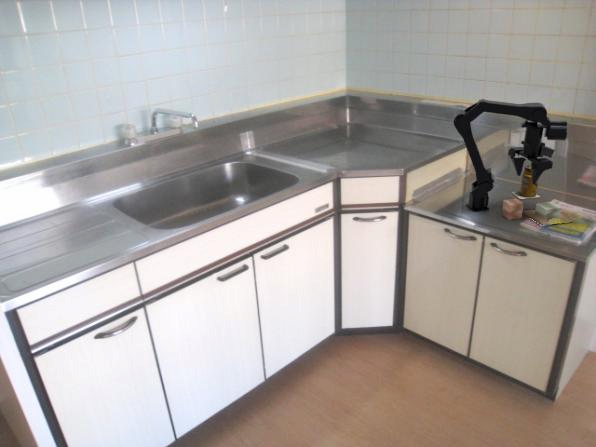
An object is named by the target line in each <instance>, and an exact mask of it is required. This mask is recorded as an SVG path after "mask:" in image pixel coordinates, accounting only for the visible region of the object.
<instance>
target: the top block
mask: <svg viewBox="0 0 596 447" xmlns="http://www.w3.org/2000/svg"><path fill="white" fill-rule="evenodd" d="M502 203H503V204H502V210H501V215H502V216H503V217H504V218H506V219H507V220H509V221H510V220H518V219H522V216H523V211H524V203H523V202H522V201H520V200H519V199H518V198H511V199H503V201H502Z"/></svg>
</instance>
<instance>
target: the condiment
mask: <svg viewBox="0 0 596 447" xmlns="http://www.w3.org/2000/svg"><path fill="white" fill-rule="evenodd" d="M530 167H532V166H531V164H529V165H526V166H525V167H524V169H523V171H524V172H523V173H522V178H521V183H520V185H521V186H520V191H511V194H513V195H514V196H516V197H517V199H518V198H519V199H520V200H525V199H537V198H541V195H539V194H537V192H538V184H539V180H538V181H537V182H536V184H532V180H531V170H530Z"/></svg>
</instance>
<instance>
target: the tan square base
mask: <svg viewBox="0 0 596 447" xmlns="http://www.w3.org/2000/svg"><path fill="white" fill-rule="evenodd" d="M535 204H536V205H535V209H529V210H523V211H522V215H524V216H525V217H526V218H528V219H529V218H531V219H533V220H534V221H536V222H538V223H539V224H541V225H543V224H547V223H548V222H549V220H550V219H552V218H567V219H569V220H573V219H572V218H570V217H568V216H567V215H565V214H563V213H562V207H561V206H559V205H557V203H555V202H553V201H546V202H545V201H544V202H537V203H535ZM531 219H530V220H531ZM534 221H533V222H534Z"/></svg>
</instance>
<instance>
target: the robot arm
mask: <svg viewBox="0 0 596 447" xmlns="http://www.w3.org/2000/svg"><path fill="white" fill-rule="evenodd" d="M484 113H490V114H498V115H503V116H504V115H506V116H512V117H513V116H515V117H519V118H521V119H524V121H522V122H521V123H520V127H521V128H525V132H524V138H523V140H521V141H520V144H522V145H523V146H515V147H510V148H509V149H508V151H507V152H508V153H507V155H508V156H509V159H511V162H512V165H513V167H514V169H515V172H516V176H517V177H520V176H521V175H522V174H523V173H522V172H523V170H524V169H523V167H524V164H525V162H526V160H527V161H530V162H531V164H530V165H531V166H532V167H530V170H531V180H532V184H536V182H537V181H538V182H539V179H540V177H541V176H542V174H543V173H544V172H545V171H547V170H551V169H553V165H554V162H553V161H552V160H551V159H552V157H553V155H554V153H555V151H556V149H553V148H551V147H549V146H546V143H545V142H544V141H542V140H543V137H544V138H546V140H547V141H561V142H562V141H564V142H565V141H566V140H567V136H568V122H567V121H566V120H560V121H559V120H551V119H550V117H548V116H547V115H548V110H547V109H546V106H545V105H544V104H543V103H542V102H525V103H513V102H504V101H496V100H489V99H485V98H481V99H479V100H478V101H477V102H475V103H474V104H472V105H470V106H468V107H467V108H465V109H462V110H459V111H456V112H455V114H454V117H453V122H452V123H453V126H454V128H455V129H456V131H457V132H458V134H459V136H460V137H461V138H462V139H463V143H464V145H465V149H466V150H467V153H468V156H469V157H470V161H471V163H472V166H473V169H474V171H475V179H476V180H475V181H473V182H472V183H471V185H470V186H471V191H470V192H469V195H468V203H467V204H466V205H465V206H467V207H468V208H469V209H470V210H471V211H473V212H479V211H480V212H481V211H486V210H490V208H489V207H488V206H489V200H490V196H489V192H491V191H492V190H493V188H494V187H495V186H494V183H495V182H496V180H495V175H494V174H493V172H492V167H486V165H485V163H484V160H483V157H482V154H481V151H480V149H479V147H478V144H477V141H476V138H475V135H474V133H473V127H472V125H473V124H472V122H473V121H475V120H476V119H477V118H478V117H480V116H481V115H482V114H484ZM544 156H545V157H544ZM547 157H548V158H547ZM549 158H550V159H549Z"/></svg>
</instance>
